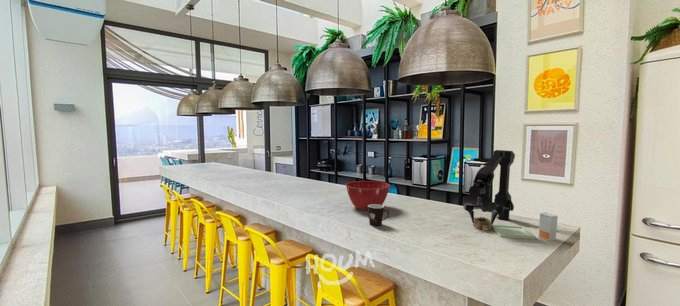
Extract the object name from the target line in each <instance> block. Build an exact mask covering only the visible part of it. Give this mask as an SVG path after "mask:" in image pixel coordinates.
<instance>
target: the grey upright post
mask: <svg viewBox="0 0 680 306" xmlns="http://www.w3.org/2000/svg"><path fill="white" fill-rule="evenodd" d="M479 218H480V220H479V221H486V218H487V217H484V216H479ZM472 226H473V227H474V229H475V230H478V229H477V228H476V227H475V226H474V223H472ZM480 230H481V231H483V230H482V229H480ZM487 231H489V230H488V229H487ZM490 231H493V229H492V228H491V230H490Z"/></svg>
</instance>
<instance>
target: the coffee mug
mask: <svg viewBox="0 0 680 306" xmlns="http://www.w3.org/2000/svg"><path fill="white" fill-rule="evenodd" d="M367 211H368V220H369V226H372V227H381V226H382V224H383V221H384V220H386V219H388V218H389V217H390V212H389V210H387V209H385V205H383V204H382V205H379V204H371V205H368V210H367ZM384 212H386V213H387V216H386V217H384Z"/></svg>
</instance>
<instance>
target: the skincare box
mask: <svg viewBox="0 0 680 306" xmlns="http://www.w3.org/2000/svg"><path fill="white" fill-rule="evenodd" d="M558 217H559V216H558V215H556V214H552V213H548V212H540V213H539V224H538V225H539V226H538V236H537V237H538V238H540V239H543V240H545V241H548V242H553V241H556V240H557V228H558Z"/></svg>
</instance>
